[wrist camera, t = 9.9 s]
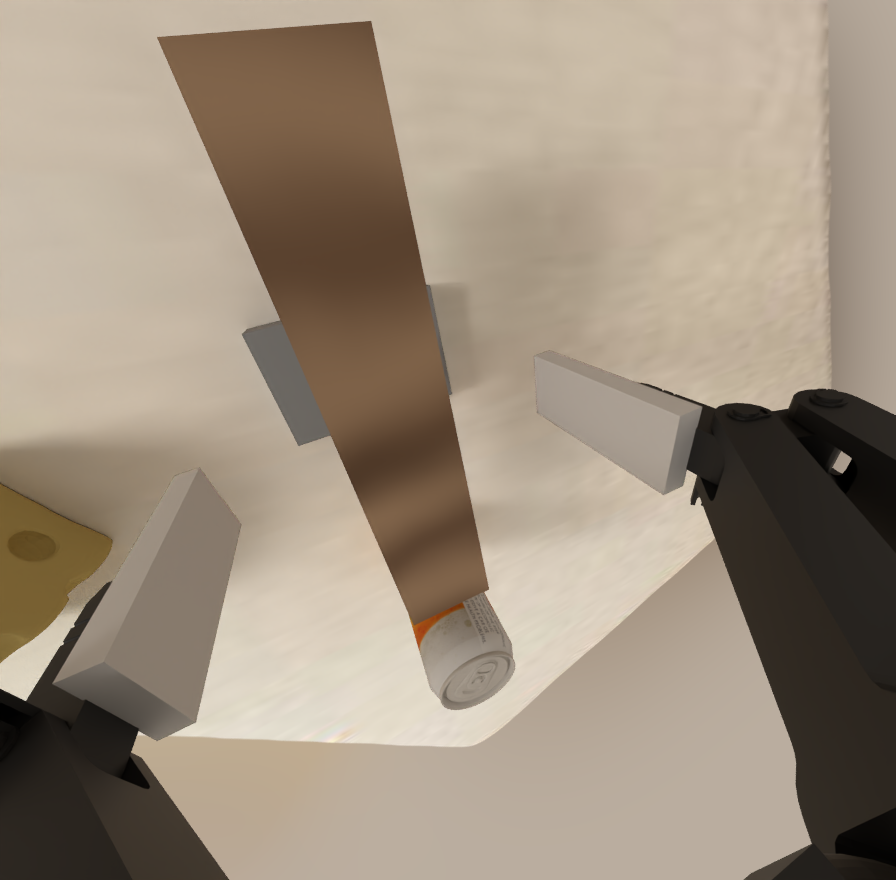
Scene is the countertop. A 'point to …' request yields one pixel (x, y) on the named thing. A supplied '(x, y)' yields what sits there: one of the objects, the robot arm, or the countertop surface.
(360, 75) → the walnut bar
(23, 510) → the cheese
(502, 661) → the beer can
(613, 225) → the countertop surface
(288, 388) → the fulcrum
